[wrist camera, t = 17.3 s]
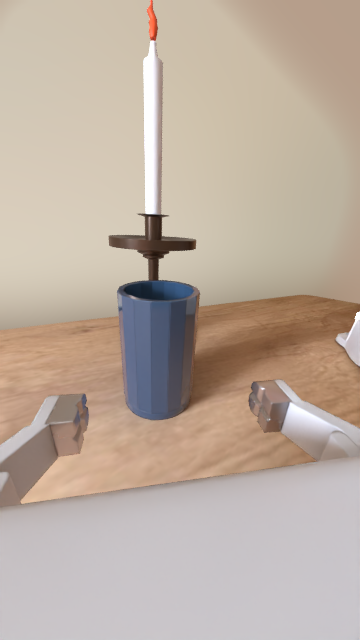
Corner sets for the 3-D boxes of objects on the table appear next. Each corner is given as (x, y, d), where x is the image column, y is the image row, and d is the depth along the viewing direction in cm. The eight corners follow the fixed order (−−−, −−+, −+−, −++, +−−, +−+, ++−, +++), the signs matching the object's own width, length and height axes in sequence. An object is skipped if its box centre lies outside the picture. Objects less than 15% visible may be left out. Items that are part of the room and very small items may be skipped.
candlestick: (117, 325, 37) (96, 26, 23) (180, 322, 39) (193, 50, 26) (115, 361, 27) (75, -117, 13) (198, 354, 30) (236, -56, 16)
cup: (172, 368, 26) (175, 278, 22) (203, 404, 21) (215, 295, 17) (117, 384, 23) (109, 283, 19) (138, 431, 18) (133, 306, 14)
